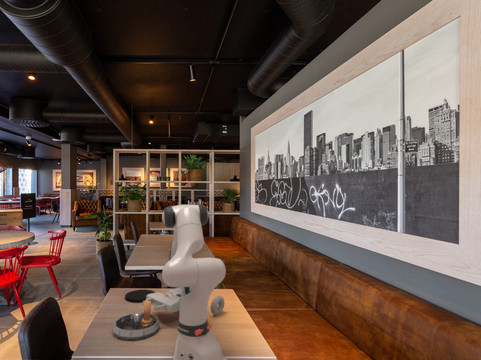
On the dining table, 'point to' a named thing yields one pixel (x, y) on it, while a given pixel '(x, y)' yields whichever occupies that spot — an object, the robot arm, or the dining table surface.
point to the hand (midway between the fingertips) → (149, 306)
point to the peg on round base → (147, 313)
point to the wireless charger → (137, 296)
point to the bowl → (134, 327)
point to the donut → (220, 302)
